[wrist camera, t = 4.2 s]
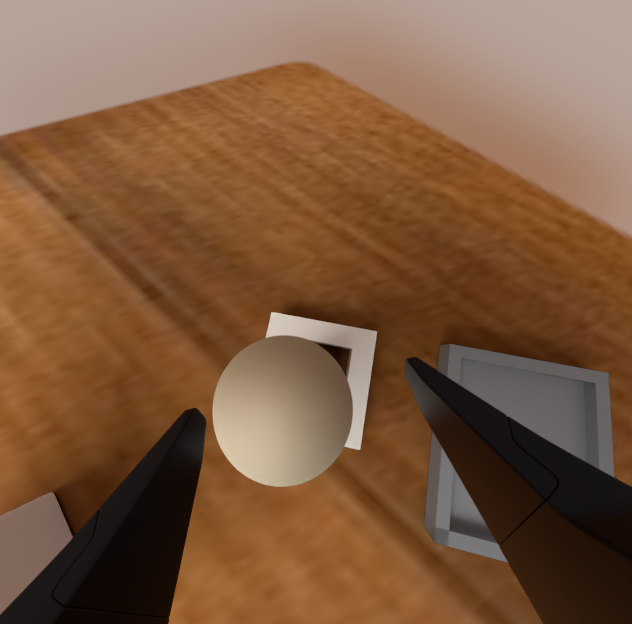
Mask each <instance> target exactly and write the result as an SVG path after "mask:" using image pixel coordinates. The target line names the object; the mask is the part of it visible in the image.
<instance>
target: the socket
mask: <svg viewBox="0 0 632 624" xmlns="http://www.w3.org/2000/svg"><path fill="white" fill-rule="evenodd" d="M278 335H290V336H297V337H301V338H305V339H307V340H309V341H312V342H314V343H318V344H323V345H328V346H334V347H339V348H344V349H349V350H350V353H349V359H348V365H347V371H346V378H347V381H348V383H349V387H350V390H351V395H352V401H353V417H352V425H351V429H350V433H349V436H348V439H347V442H346V444H345V447H349V448H353V449H357V450H360V447H361V441H362V434H363V427H364V420H365V413H366V406H367V399H368V392H369V385H370V378H371V371H372V364H373V357H374V350H375V344H376V337H377V331H372V330H367V329H362V328H356V327H351V326H345V325H340V324H334V323H329V322H324V321H318V320H313V319H307V318H302V317H297V316H291V315H286V314H280V313H275V312H272V313H271V317H270V322H269V326H268V330H267V334H266V338H267V337H271V336H278Z"/></svg>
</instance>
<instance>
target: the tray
mask: <svg viewBox="0 0 632 624" xmlns="http://www.w3.org/2000/svg"><path fill="white" fill-rule="evenodd" d="M438 371H439V372H440V373H442V374H444V375H445V376H447V377H448V378H450V379H451V380H453V381H454V382H456V383H458V384H459V385H461V386H462V387H464V388H465V389H467V390H468V391H470V392H472V393H473V394H475V395H476V396H478V397H479V398H481V399H483V400H484V401H486V402H487V403H489V404H490V405H492V406H493V407H495V408H497V409H498V410H500V411H501V412H503V413H504V414H506V415H507V417H508V416H509V417H511V418H512V419H514V420H515V421H517V422H519V423H520V424H522V425H523V426H525V427H527V428H528V429H530V430H531V431H533V432H535V433H536V434H538V435H540V436H541V437H543V438H545V439H546V440H548V441H550V442H552V443H553V444H555V445H557V446H559V447H560V448H562V449H564V450H566V451H567V452H569V453H571V454H573V455H575V456H576V457H578V458H580V459H582V460H584V461H585V462H587V463H589V464H591V465H593V466H594V467H596V468H598V469H600V470H602V471H603V472H605V473H607V474H609V475H611V476H613V477H614V460H613V442H612V424H611V406H610V388H609V373H606V372H600V371H595V370H589V369H584V368H579V367H573V366H568V365H562V364H557V363H551V362H546V361H541V360H535V359H530V358H524V357H519V356H513V355H508V354H503V353H497V352H492V351H486V350H481V349H475V348H470V347H465V346H459V345H454V344H445V345H440V349H439V360H438ZM424 525H425V527H426V529H427V531H428V532H429V534H430V536H431V538H432V539H433V541H434V543H438V544H442V545H445V546H449V547H453V548H456V549H460V550H464V551H467V552H471V553H475V554H479V555H482V556H486V557H490V558H493V559H497V560H501V561H504V562H507V560H506V558H505V556H504V555H503V553H502V551H501V549H500V548H499V545H498V544H497V542H496V540H495V539H494V537H493V535H492V533H491V532H490V530H489V528H488V526H487V525H486V523H485V521H484V520H483V518H482V516H481V514H480V513H479V511H478V509H477V507H476V506H475V504H474V502H473V500H472V499H471V497H470V495H469V493H468V492H467V490H466V488H465V487H464V485H463V483H462V481H461V480H460V478H459V476H458V474H457V473H456V471H455V469H454V467H453V466H452V464H451V462H450V460H449V459H448V457H447V455H446V453H445V452H444V450H443V448H442V447H441V445H440V443H439V441H438V440H437V438H436V436H435V434H434V433H433V431H432V439H431V450H430V461H429V473H428V484H427V495H426V507H425V518H424Z"/></svg>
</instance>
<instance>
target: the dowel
mask: <svg viewBox="0 0 632 624" xmlns="http://www.w3.org/2000/svg"><path fill="white" fill-rule="evenodd" d="M352 417H353V401H352V395H351V390H350V387H349V383H348V381H347V378H346V376H345V374H344V372H343V370H342V368H341V367H340V365H339V364H338V363H337V361H336V360H335V359H334V358H333V357H332V356H331V355H330V354H329V353H328V352H327V351H326V350H325V349H323V348H322V347H321V346H319V345H317V344H316V343H314V342H312V341H309V340H307V339H305V338H301V337H297V336H290V335H278V336H271V337H267V338H264V339H261V340H259V341H256V342H254V343H252V344H250V345H249V346H247V347H246V348H244V349H243V350H242V351H240V352H239V353H238V354H237V355H236V356H235V357H234V358H233V359H232V360H231V362H230V363H229V364H228V365H227V367H226V369H225V370H224V372H223V373H222V375H221V378H220V380H219V382H218V385H217V388H216V391H215V395H214V400H213V424H214V430H215V434H216V437H217V440H218V443H219V445H220V447H221V449H222V451H223V453H224V454H225V456H226V457H227V459H228V460H229V461H230V463H231V464H232V465H233V466H234V467H235V468H236V469H237V470H238V471H239V472H241V473H242V474H244V475H245V476H246V477H248V478H250V479H252V480H254V481H256V482H258V483H261V484H264V485H269V486H275V487H287V486H295V485H298V484H302V483H305V482H307V481H309V480H312V479H314V478H315V477H317V476H318V475H320V474H321V473H323V472H324V471H325V470H326V469H327V468H329V467H330V466H331V464H332V463H333V462H334V461H335V460H336V459H337V457H338V456H339V454H340V453H341V451H342V450H343V448H344V446H345V444H346V442H347V439H348V436H349V433H350V429H351V425H352Z"/></svg>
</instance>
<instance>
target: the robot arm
mask: <svg viewBox="0 0 632 624" xmlns="http://www.w3.org/2000/svg"><path fill="white" fill-rule="evenodd" d="M405 375H406V378H407V380H408V382H409V384H410V387H411V389H412V391H413V394H414V396H415V398H416V400H417V403H418V405H419V407H420V409H421V411H422V413H423V415H424V417H425V419H426V420H427V422H428V424H429V426H430V427H431V429H432V431H433V433H434V434H435V436H436V438H437V440H438V441H439V443H440V445H441V447H442V448H443V450H444V452H445V453H446V455H447V457H448V459H449V460H450V462H451V464H452V466H453V467H454V469H455V471H456V473H457V474H458V476H459V478H460V480H461V481H462V483H463V485H464V487H465V488H466V490H467V492H468V493H469V495H470V497H471V499H472V500H473V502H474V504H475V506H476V507H477V509H478V511H479V513H480V514H481V516H482V518H483V520H484V521H485V523H486V525H487V526H488V528H489V530H490V532H491V533H492V535H493V537H494V539H495V540H496V542H497V544H498V545H499V548H500V549H501V551H502V553H503V555H504V556H505V558H506V560H507V562H508V563H509V565H510V567H511V568H512V570H513V572H514V574H515V575H516V577H517V579H518V581H519V582H520V584H521V586H522V588H523V589H524V591H525V593H526V595H527V596H528V598H529V600H530V602H531V603H532V605H533V607H534V608H535V610H536V612H537V614H538V615H539V617H540V619H541V621H542V622H543V624H632V487H631V486H629V485H627V484H625V483H623V482H622V481H620V480H618V479H616V478H614V477H613V476H611V475H609V474H607V473H605V472H603V471H602V470H600V469H598V468H596V467H594V466H593V465H591V464H589V463H587V462H585V461H584V460H582V459H580V458H578V457H576V456H575V455H573V454H571V453H569V452H567V451H566V450H564V449H562V448H560V447H559V446H557V445H555V444H553V443H552V442H550V441H548V440H546V439H545V438H543V437H541V436H540V435H538V434H536V433H535V432H533V431H531V430H530V429H528V428H527V427H525V426H523V425H522V424H520V423H519V422H517V421H515V420H514V419H512V418H511V417H509V416H508V417H507V415H506V414H504V413H503V412H501V411H500V410H498V409H497V408H495V407H493V406H492V405H490V404H489V403H487V402H486V401H484V400H483V399H481V398H479V397H478V396H476V395H475V394H473V393H472V392H470V391H468V390H467V389H465V388H464V387H462V386H461V385H459V384H458V383H456V382H454V381H453V380H451V379H450V378H448V377H447V376H445V375H444V374H442V373H440V372H439V371H437V370H436V369H434V368H433V367H431V366H429V365H428V364H426V363H425V362H423V361H422V360H420V359H419V358H417V357H411V358H407V359H406V360H405ZM205 432H206V419H205V417H204V416H203V415H202V413H201V412H200V411H199V410H198V409H197V408H192V409H188V410H186V411H184V412H183V413H182V415H181V416H180V417H179V418H178V419H177V420H176V421H175V423H174V424H173V425H172V426H171V427H170V428H169V429H168V431H167V432H166V433H165V434H164V435H163V436H162V437H161V438H160V440H159V441H158V442H157V443H156V444H155V445H154V446H153V448H152V449H151V450H150V451H149V452H148V453H147V454H146V456H145V457H144V458H143V459H142V460H141V461H140V462H139V464H138V465H137V466H136V467H135V468H134V469H133V470H132V472H131V473H130V474H129V475H128V476H127V477H126V478H125V479H124V481H123V482H122V483H121V484H120V485H119V486H118V487H117V489H116V490H115V491H114V492H113V493H112V494H111V495H110V497H109V498H108V499H107V500H106V501H105V502H104V503H103V505H102V506H101V507H100V509H99V510H97V511H96V512H95V514H94V515H93V516H92V517H91V518H90V519H89V520H88V522H87V523H86V524H85V525H84V526H83V527H82V528H81V529H80V530H79V532H78V533H77V534H76V535H75V536H74V537H73V538H72V539H71V540H70V542H69V543H68V544H67V545H66V546H65V547H64V548H63V549H62V550H61V551H60V552H59V553H58V554H57V555H56V557H55V558H54V559H53V560H52V561H51V562H50V563H49V564H48V565H47V566H46V567H45V568H44V569H43V570H42V571H41V572H40V573H39V575H38V576H37V577H36V578H35V579H34V580H33V581H32V582H31V583H30V584H29V585H28V586H27V587H26V588H25V589H24V590H23V591H22V592H21V593H20V594H19V595H18V596H17V597H16V599H15V600H14V601H13V602H12V603H11V604H10V605H9V606H8V607H7V608H6V609H5V610H4V611H3V612H2V613H1V614H0V624H168V623H169V616H170V612H171V607H172V603H173V598H174V593H175V588H176V584H177V579H178V574H179V569H180V565H181V560H182V555H183V550H184V546H185V541H186V536H187V531H188V527H189V522H190V517H191V512H192V508H193V503H194V498H195V493H196V489H197V484H198V479H199V474H200V470H201V464H202V458H203V450H204V441H205Z"/></svg>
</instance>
